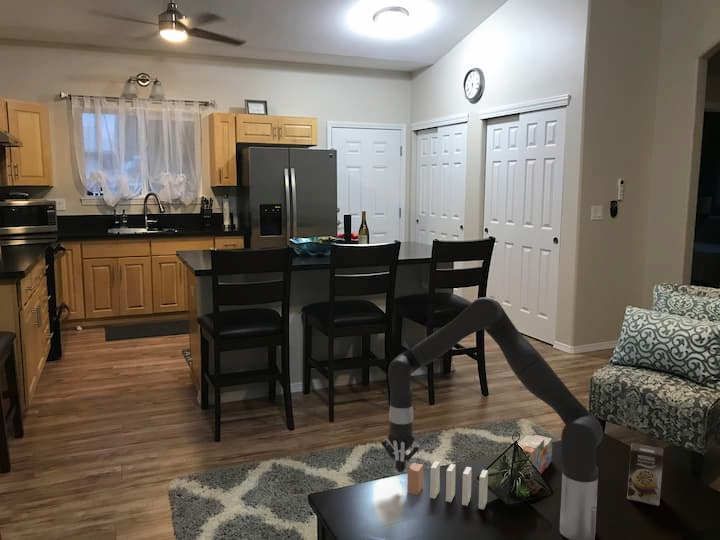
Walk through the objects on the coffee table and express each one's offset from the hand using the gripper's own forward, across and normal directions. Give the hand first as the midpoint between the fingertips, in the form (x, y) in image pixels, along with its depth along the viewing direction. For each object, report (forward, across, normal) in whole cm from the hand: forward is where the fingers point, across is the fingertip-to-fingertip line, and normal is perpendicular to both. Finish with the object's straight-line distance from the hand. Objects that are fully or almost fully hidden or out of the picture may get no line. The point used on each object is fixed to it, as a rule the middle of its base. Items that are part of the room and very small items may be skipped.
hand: (400, 470), depth 186 cm
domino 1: (+6, -5, 0) cm, 8 cm away
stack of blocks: (+6, -38, -28) cm, 47 cm away
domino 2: (+6, -11, 0) cm, 13 cm away
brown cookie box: (+6, -71, -24) cm, 76 cm away
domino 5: (+6, -26, 0) cm, 27 cm away
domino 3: (+6, -16, 0) cm, 17 cm away
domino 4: (+6, -21, 0) cm, 22 cm away
